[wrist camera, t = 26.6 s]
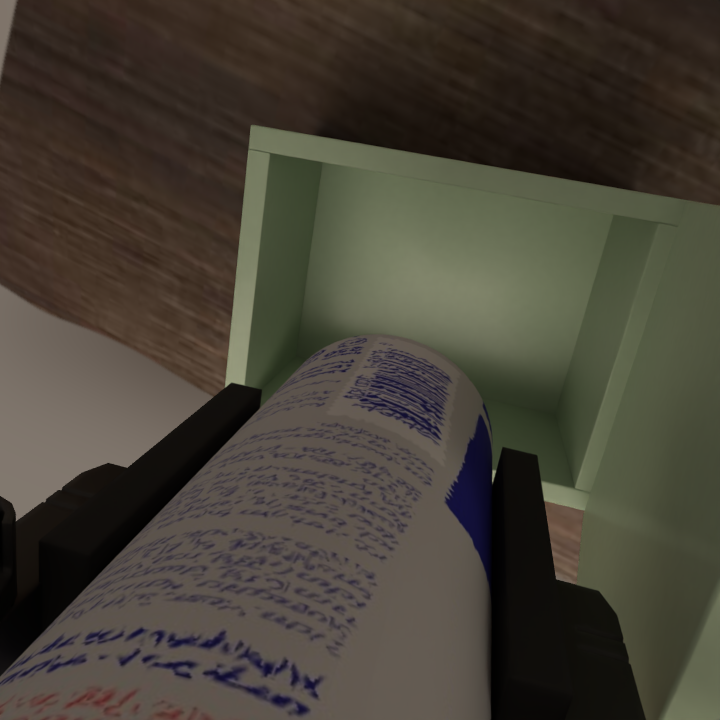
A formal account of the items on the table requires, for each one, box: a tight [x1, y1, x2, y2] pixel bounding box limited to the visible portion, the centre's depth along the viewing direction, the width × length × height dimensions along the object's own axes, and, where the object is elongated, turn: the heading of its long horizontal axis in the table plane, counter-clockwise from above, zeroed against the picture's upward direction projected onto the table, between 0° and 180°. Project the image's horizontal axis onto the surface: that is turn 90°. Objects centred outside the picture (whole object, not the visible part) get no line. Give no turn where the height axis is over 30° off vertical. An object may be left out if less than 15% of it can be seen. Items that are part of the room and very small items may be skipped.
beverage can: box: [0, 334, 493, 720], centre depth 9 cm, size 6×6×15 cm
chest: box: [225, 125, 689, 511], centre depth 32 cm, size 18×14×10 cm
